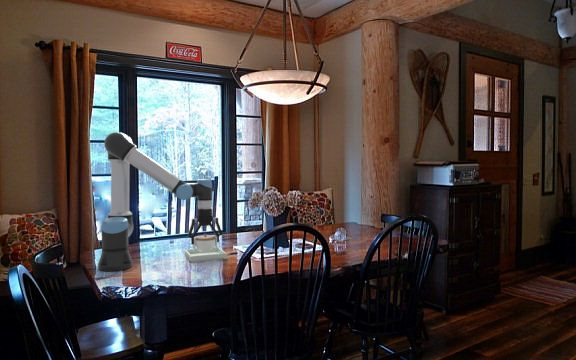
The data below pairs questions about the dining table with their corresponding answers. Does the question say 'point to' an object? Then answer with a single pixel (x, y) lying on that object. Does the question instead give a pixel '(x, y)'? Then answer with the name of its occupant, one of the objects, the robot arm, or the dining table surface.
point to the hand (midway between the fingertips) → (205, 249)
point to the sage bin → (205, 255)
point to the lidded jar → (205, 243)
